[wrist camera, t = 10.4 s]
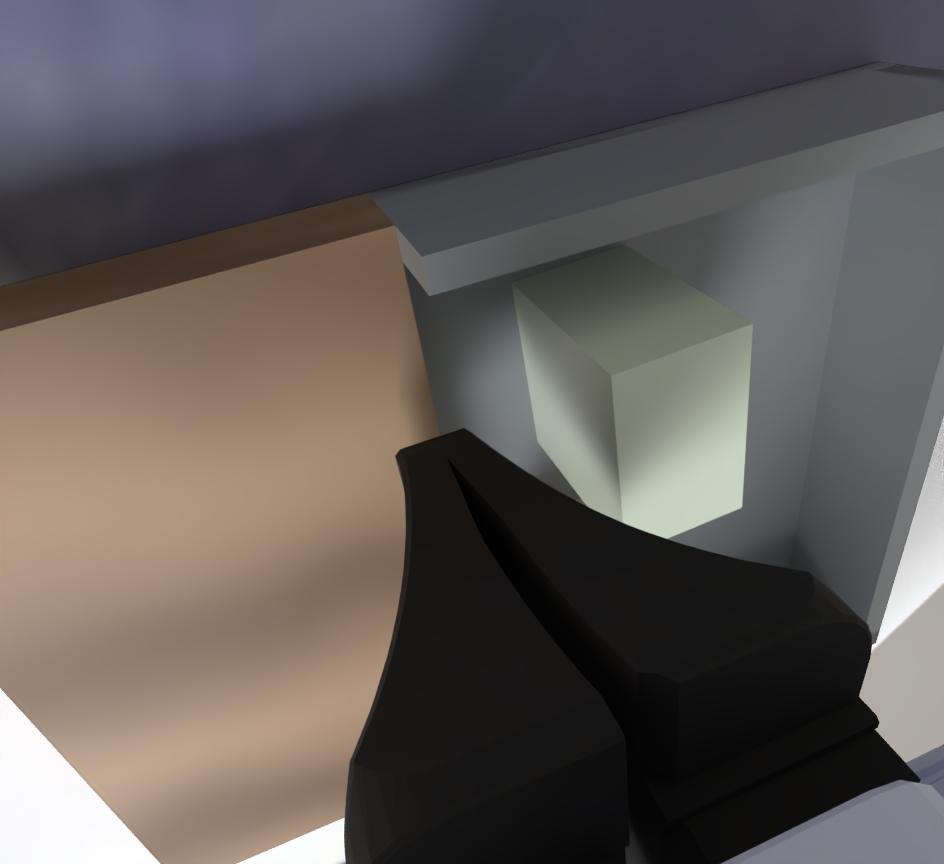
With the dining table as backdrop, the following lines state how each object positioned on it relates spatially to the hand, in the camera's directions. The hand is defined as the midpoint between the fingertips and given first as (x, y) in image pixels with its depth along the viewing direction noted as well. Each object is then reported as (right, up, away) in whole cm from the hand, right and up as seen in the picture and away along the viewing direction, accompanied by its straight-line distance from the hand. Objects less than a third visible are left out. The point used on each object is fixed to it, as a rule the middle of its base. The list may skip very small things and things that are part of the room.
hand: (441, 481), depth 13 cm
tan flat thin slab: (-4, -2, +3) cm, 6 cm away
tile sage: (+2, +1, +1) cm, 3 cm away
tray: (+5, +1, +5) cm, 7 cm away
